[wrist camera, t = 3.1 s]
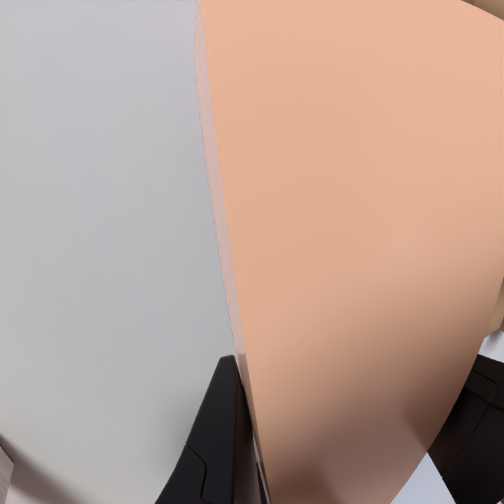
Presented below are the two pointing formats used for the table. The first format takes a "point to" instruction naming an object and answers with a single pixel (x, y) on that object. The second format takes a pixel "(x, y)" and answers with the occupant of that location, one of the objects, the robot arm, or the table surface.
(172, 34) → the table surface
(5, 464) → the supplement box
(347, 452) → the peach rectangular block
